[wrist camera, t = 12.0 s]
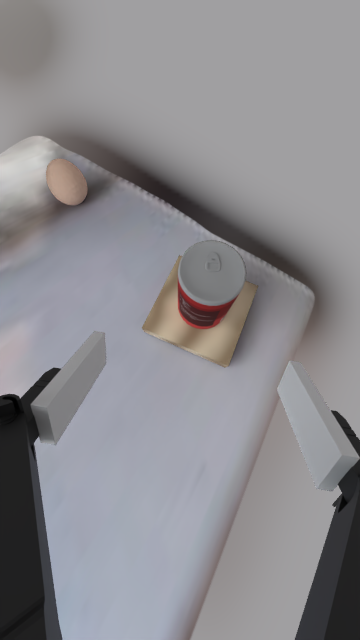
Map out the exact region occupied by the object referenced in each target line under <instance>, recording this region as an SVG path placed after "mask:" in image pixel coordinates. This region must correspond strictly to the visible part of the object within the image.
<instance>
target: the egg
mask: <svg viewBox="0 0 360 640" xmlns="http://www.w3.org/2000/svg"><path fill="white" fill-rule="evenodd" d="M46 179H47V184H48V187H49V189H50V191H51V192H52V194H53V195H54V196H55V197H56V198H57V199H58V200H59V201H61V202H62V203H65V204H67V205H77V204H80V203H81V202H82V201H83V200H84V199H85V197H86V195H87V183H86V180H85V178H84V176H83V174H82V173H81V171H80V170H79V169H78V168H77V167H76V166H75V165H74V164H72V163H71V162H69V161H67V160H65V159H55V160H52V161H51V162H50V163H49V164H48V166H47V170H46Z"/></svg>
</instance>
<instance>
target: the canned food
mask: <svg viewBox="0 0 360 640" xmlns="http://www.w3.org/2000/svg"><path fill="white" fill-rule="evenodd" d="M245 280H246V267H245V264H244V261H243V259H242V257H241V256H240V254H239V253H238V252H237V251H236V250H235V249H234V248H233V247H231V246H229V245H228V244H226V243H223V242H220V241H214V240H209V241H202V242H199V243H196V244H194V245H193V246H191V247H190V248H189V249H188V250H186V251H185V253H184V254H183V256H182V258H181V260H180V263H179V267H178V310H179V313H180V316H181V317H182V319H183V320H184V321H185V322H186V323H187V324H188V325H190V326H192V327H194V328H197V329H209V328H212V327H215V326H216V325H218V324H219V323H220V322H221V321H222V320H223V318H224V317H225V315H226V314H227V312H228V311H229V309H230V308H231V306H232V305H233V303H234V301H235V300H236V298H237V297H238V295H239V293H240V292H241V290H242V288H243V286H244V283H245Z"/></svg>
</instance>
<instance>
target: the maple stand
mask: <svg viewBox="0 0 360 640" xmlns="http://www.w3.org/2000/svg"><path fill="white" fill-rule="evenodd" d="M181 258H182V256H180V255H179V257H178V259H177V261H176V263H175V265H174V267H173V269H172V271H171V273H170V275H169V276H168V278H167V280H166V282H165V284H164V286H163V288H162V290H161V292H160V294H159V296H158V298H157V300H156V302H155V304H154V305H153V307H152V309H151V311H150V313H149V315H148V317H147V319H146V321H145V323H144V325H143V327H142V329H143V331H144V332H146V333H148V334H150V335H153V336H155V337H157V338H159V339H162V340H164V341H166V342H168V343H171V344H173V345H175V346H177V347H180V348H182V349H184V350H187V351H189V352H191V353H193V354H196V355H198V356H200V357H202V358H205V359H207V360H209V361H211V362H214V363H216V364H218V365H220V366H223V367H227V366H229V363H230V361H231V358H232V355H233V353H234V350H235V347H236V344H237V342H238V339H239V336H240V334H241V331H242V328H243V326H244V323H245V320H246V318H247V315H248V312H249V310H250V307H251V304H252V301H253V299H254V296H255V293H256V291H257V288H258V286H257V285H254V284H252V283H249V282H247V281H245V283H244V286H243V288H242V290H241V292H240V293H239V295H238V297H237V298H236V300H235V301H234V303H233V305H232V306H231V308H230V309H229V311H228V312H227V314H226V315H225V317H224V318H223V320H222V321H221V322H220V323H219V324H218V325H216V326H215V327H212V328H209V329H197V328H194V327H192V326H190V325H188V324H187V323H186V322H185V321H184V320H183V319H182V317H181V316H180V313H179V310H178V267H179V263H180V260H181Z"/></svg>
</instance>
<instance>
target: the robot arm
mask: <svg viewBox="0 0 360 640" xmlns="http://www.w3.org/2000/svg"><path fill="white" fill-rule="evenodd" d="M105 365H106V346H105V333H103V332H97V331H94V332H93V333H92V334H91V336H90V337H89V338H88V339H87V340H86V341H85V342H84V344H83V345H82V346H81V347H80V348H79V349H78V351H77V352H76V353H75V354H74V355H73V356H72V357H71V359H70V360H69V361H68V362H67V363H66V364H65V365H64V367H63V368H62V369H59V368H52V369H51V370H49V371H47V372H45V373H44V374H43V375H42V376H41V378H40V379H39V380H38V381H37V382H36V383H35V384H34V386H32V387H31V388H30V389H29V390H28V391H27V392H26V393H25V394H24V395H23V396H22V398H21V399H20V398H19V396H17V395H15V394H7V395H2V396H0V640H62V635H61V630H60V626H59V620H58V613H57V606H56V599H55V592H54V584H53V577H52V570H51V562H50V555H49V548H48V540H47V533H46V526H45V518H44V511H43V504H42V496H41V489H40V482H39V474H38V467H37V460H36V452H35V446H34V442H35V441H36V439H37V438H38V436H39V437H40V441H41V443H45V444H51V445H56V444H57V442H58V441H59V439H60V437H61V436H62V434H63V433H64V431H65V429H66V428H67V426H68V425H69V423H70V421H71V420H72V418H73V416H74V415H75V413H76V412H77V410H78V408H79V407H80V405H81V403H82V402H83V400H84V399H85V397H86V395H87V394H88V392H89V390H90V389H91V387H92V386H93V384H94V382H95V381H96V379H97V378H98V376H99V374H100V373H101V371H102V369H103V368H104V366H105ZM277 391H278V393H279V396H280V399H281V401H282V403H283V406H284V409H285V411H286V414H287V416H288V419H289V421H290V423H291V426H292V428H293V431H294V433H295V436H296V438H297V441H298V444H299V446H300V448H301V451H302V453H303V456H304V459H305V461H306V464H307V466H308V469H309V471H310V473H311V476H312V478H313V481H314V484H315V486H316V489H321V490H327V491H333V490H334V489H335V488H336V486H337V485H339V488H340V490H341V492H342V494H341V495H340V496H339V498H338V499H337V500H336V501H335V502H334V503H333V506H334V507H335V506H336V505H337V506H336V509H335V512H334V515H333V518H332V522H331V525H330V528H329V532H328V535H327V538H326V541H325V544H324V547H323V551H322V554H321V557H320V560H319V563H318V567H317V570H316V573H315V577H314V580H313V583H312V586H311V589H310V592H309V596H308V599H307V602H306V605H305V608H304V612H303V615H302V618H301V621H300V625H299V628H298V632H297V634H296V638H295V640H360V440H359V439H358V437H356V434H355V433H354V431H353V430H352V429H351V427H350V426H349V424H348V422H347V421H346V419H344V418H343V417H342V416H341V415H340V414H339V413H338V412H337V411H332V410H330V409H329V407H328V406H327V404H326V402H325V401H324V399H323V398H322V396H321V394H320V393H319V391H318V389H317V388H316V386H315V385H314V383H313V381H312V380H311V378H310V377H309V375H308V374H307V372H306V370H305V369H304V367H303V365H302V364H301V362H296V361H290V360H289V363H288V365H287V367H286V370H285V372H284V374H283V377H282V379H281V381H280V384H279V386H278V388H277Z"/></svg>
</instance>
